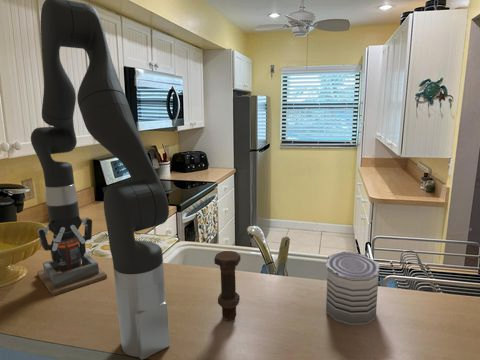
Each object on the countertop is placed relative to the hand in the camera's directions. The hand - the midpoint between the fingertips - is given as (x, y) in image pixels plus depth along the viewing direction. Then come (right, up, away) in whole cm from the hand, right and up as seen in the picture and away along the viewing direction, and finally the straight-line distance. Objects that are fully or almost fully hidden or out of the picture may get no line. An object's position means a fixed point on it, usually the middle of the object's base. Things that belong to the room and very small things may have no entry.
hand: (69, 258), depth 101 cm
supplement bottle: (0, -3, +1) cm, 3 cm away
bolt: (+45, -9, -20) cm, 50 cm away
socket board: (0, -5, +1) cm, 5 cm away
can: (+73, -8, -18) cm, 76 cm away
